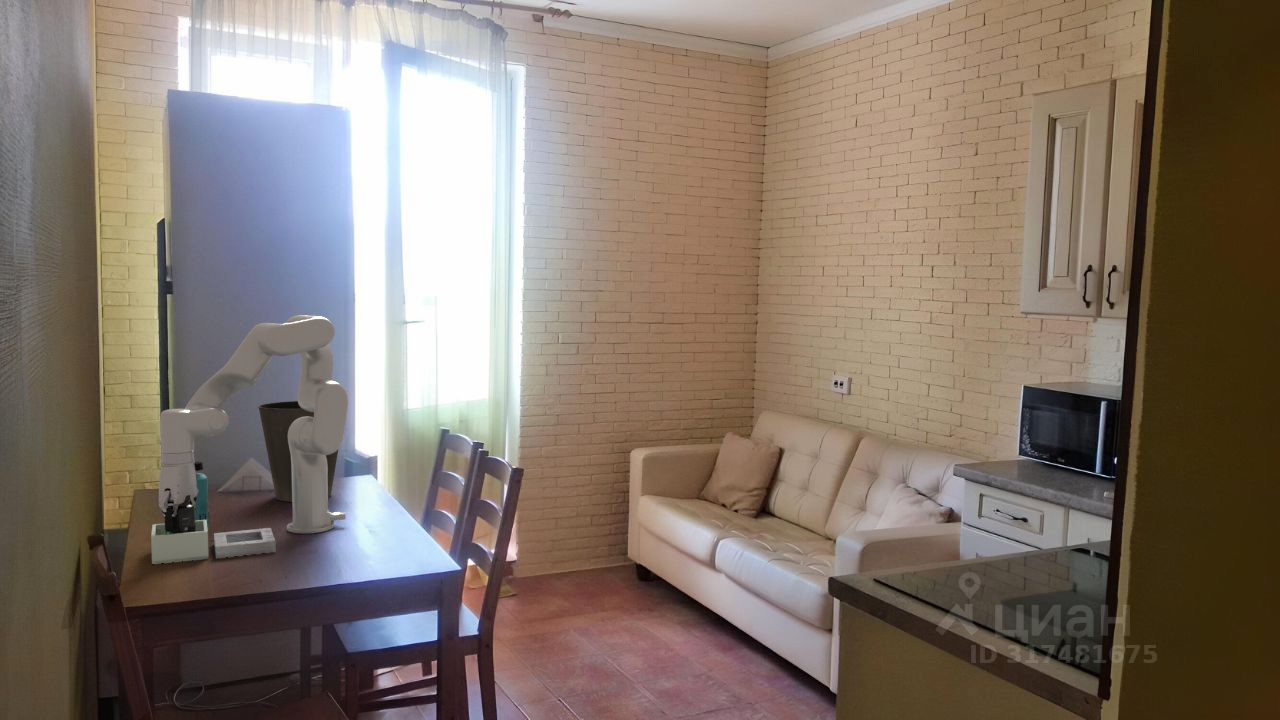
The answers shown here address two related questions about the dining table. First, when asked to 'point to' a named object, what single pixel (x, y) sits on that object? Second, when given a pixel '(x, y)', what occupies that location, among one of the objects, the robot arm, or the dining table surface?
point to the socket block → (244, 542)
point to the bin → (179, 544)
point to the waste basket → (285, 445)
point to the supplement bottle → (185, 517)
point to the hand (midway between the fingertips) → (180, 527)
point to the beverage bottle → (201, 495)
